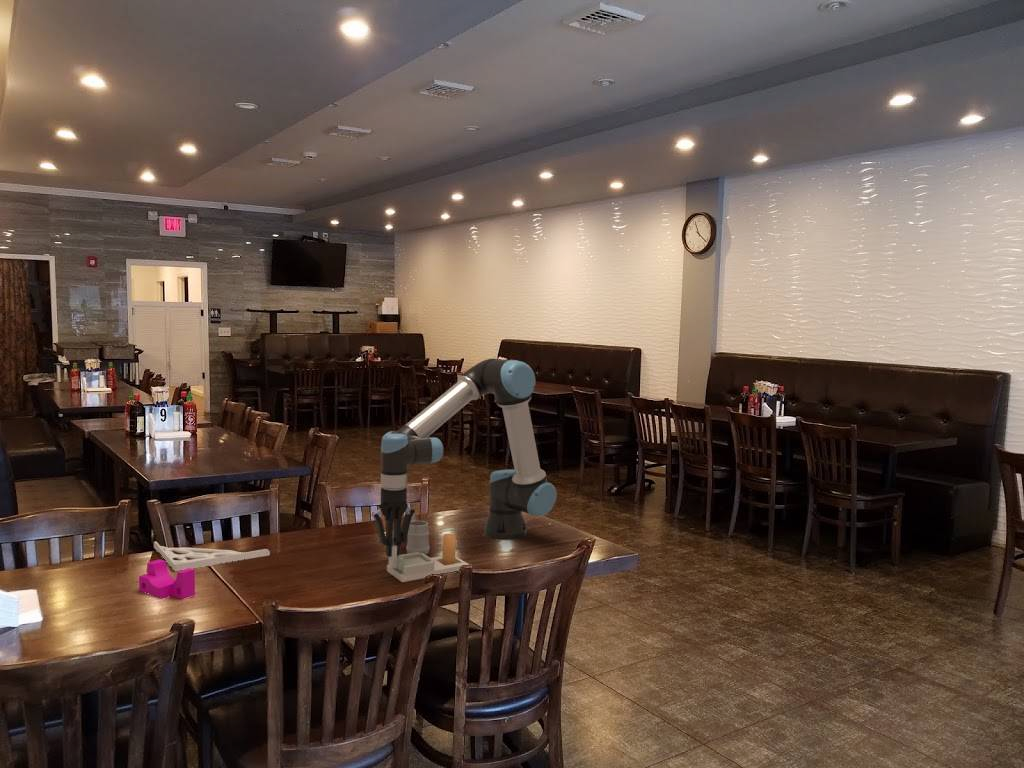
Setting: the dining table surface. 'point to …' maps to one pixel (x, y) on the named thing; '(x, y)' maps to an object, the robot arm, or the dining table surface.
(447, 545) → the orange cylinder
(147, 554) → the dining table surface
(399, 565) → the pale green l-shaped block
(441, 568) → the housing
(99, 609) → the dining table surface
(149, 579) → the toy block
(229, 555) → the shelf bracket
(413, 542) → the mug
